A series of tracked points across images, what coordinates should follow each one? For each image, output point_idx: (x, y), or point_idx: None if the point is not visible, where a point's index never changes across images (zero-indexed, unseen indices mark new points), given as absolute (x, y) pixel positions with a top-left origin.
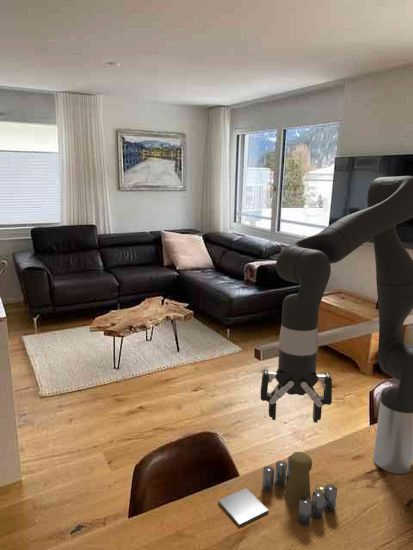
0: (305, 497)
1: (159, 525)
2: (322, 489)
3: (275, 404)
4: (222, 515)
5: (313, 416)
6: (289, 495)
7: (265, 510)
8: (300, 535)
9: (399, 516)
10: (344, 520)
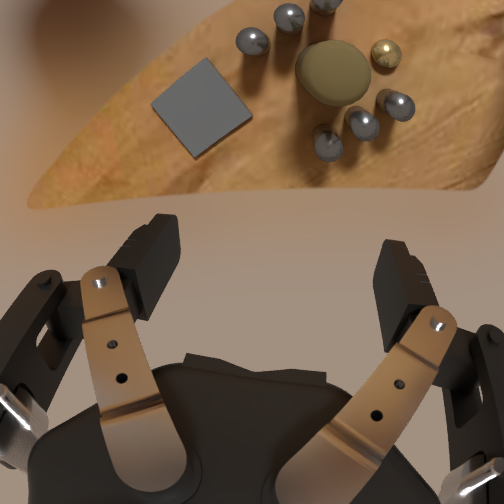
0: (331, 135)
1: (78, 170)
2: (387, 57)
3: (143, 318)
4: (163, 133)
5: (382, 270)
6: (303, 84)
7: (245, 118)
8: (310, 167)
9: (499, 134)
10: (406, 134)
